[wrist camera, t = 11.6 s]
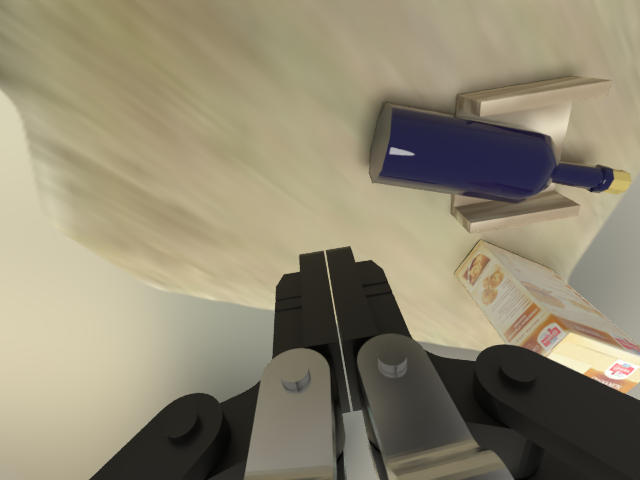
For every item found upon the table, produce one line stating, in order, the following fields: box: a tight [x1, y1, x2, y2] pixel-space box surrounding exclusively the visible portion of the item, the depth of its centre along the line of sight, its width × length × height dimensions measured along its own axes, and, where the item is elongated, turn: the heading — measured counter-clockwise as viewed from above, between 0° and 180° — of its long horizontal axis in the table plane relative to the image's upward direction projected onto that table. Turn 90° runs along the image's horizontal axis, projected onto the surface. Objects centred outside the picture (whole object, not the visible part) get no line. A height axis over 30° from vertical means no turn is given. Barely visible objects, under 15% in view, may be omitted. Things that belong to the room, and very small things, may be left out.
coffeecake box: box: [454, 240, 640, 393], centre depth 47 cm, size 15×7×20 cm, turn 65°
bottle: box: [369, 102, 631, 204], centre depth 41 cm, size 9×9×30 cm
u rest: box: [451, 76, 612, 233], centre depth 43 cm, size 16×14×6 cm
